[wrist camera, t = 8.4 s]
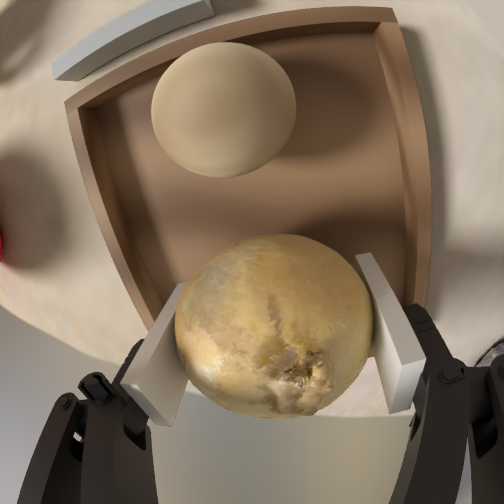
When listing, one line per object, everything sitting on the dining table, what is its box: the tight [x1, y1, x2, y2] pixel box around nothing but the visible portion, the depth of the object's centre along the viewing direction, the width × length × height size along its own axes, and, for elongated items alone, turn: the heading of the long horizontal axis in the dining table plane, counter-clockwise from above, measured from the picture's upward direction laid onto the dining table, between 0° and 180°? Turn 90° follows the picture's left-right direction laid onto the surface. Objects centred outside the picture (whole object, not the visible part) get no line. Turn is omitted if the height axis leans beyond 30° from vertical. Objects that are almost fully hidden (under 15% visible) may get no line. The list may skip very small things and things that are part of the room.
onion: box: [175, 234, 374, 420], centre depth 10 cm, size 8×8×7 cm
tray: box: [64, 6, 432, 358], centre depth 12 cm, size 18×16×2 cm
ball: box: [151, 42, 296, 178], centre depth 9 cm, size 5×5×5 cm
